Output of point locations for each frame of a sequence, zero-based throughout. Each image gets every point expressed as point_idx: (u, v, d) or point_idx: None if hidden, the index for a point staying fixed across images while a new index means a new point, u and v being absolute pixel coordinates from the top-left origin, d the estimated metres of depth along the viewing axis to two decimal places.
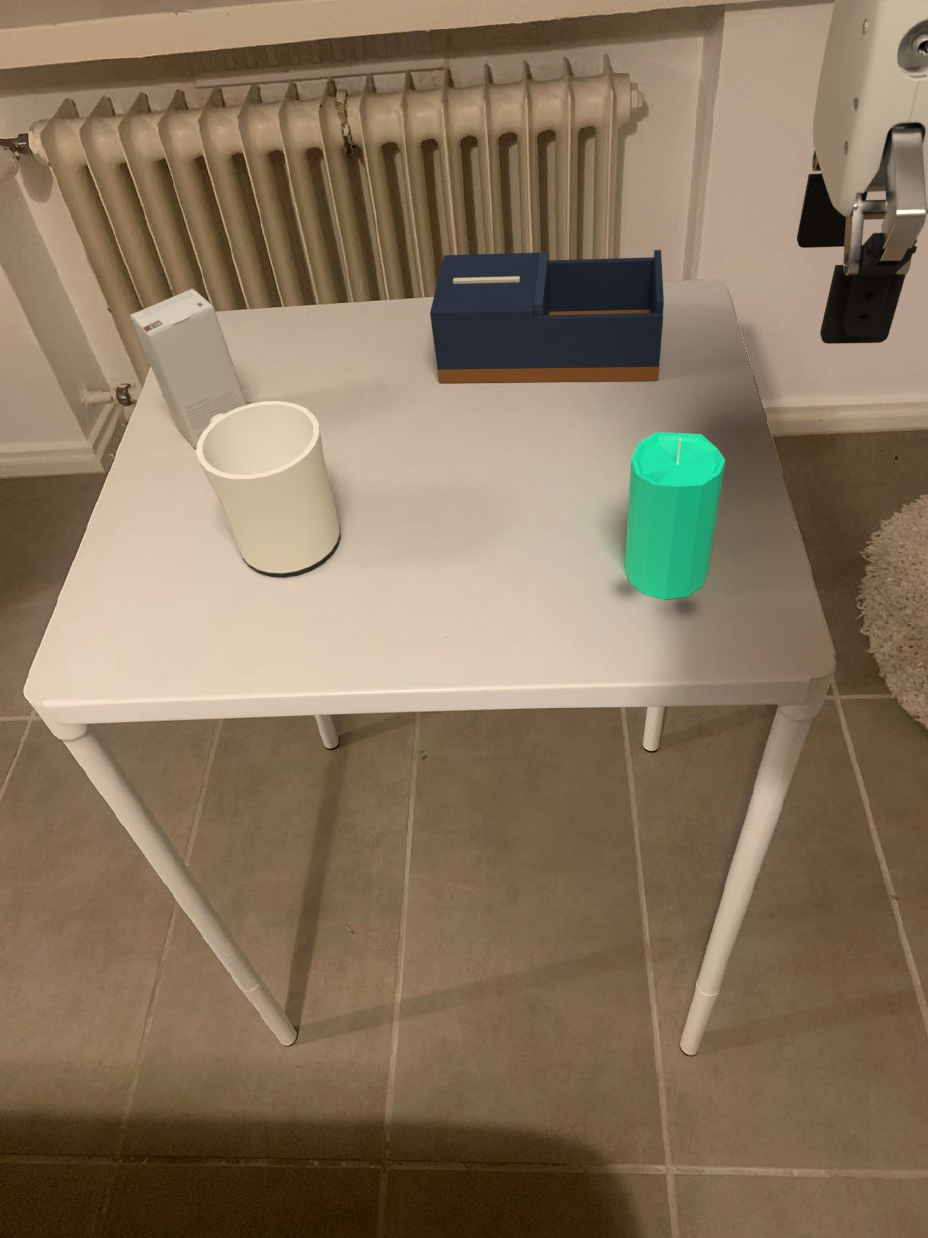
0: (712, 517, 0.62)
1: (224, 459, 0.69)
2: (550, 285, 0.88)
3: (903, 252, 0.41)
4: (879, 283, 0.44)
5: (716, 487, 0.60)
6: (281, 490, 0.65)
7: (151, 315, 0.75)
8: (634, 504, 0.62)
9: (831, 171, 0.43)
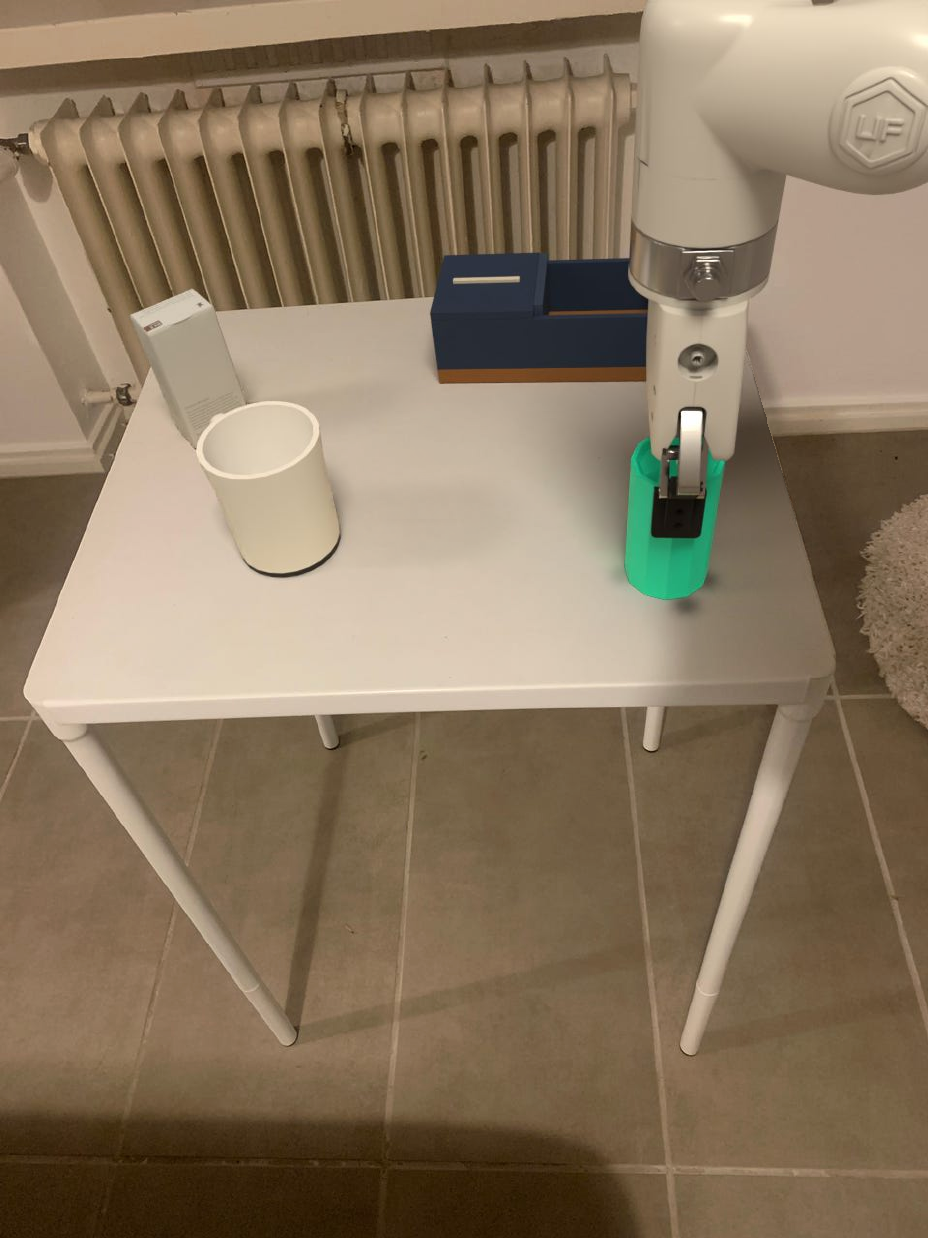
0: (712, 517, 0.62)
1: (224, 459, 0.69)
2: (550, 285, 0.88)
3: (691, 496, 0.54)
4: (685, 503, 0.57)
5: (716, 487, 0.60)
6: (281, 490, 0.65)
7: (151, 315, 0.75)
8: (634, 504, 0.62)
9: (649, 423, 0.55)
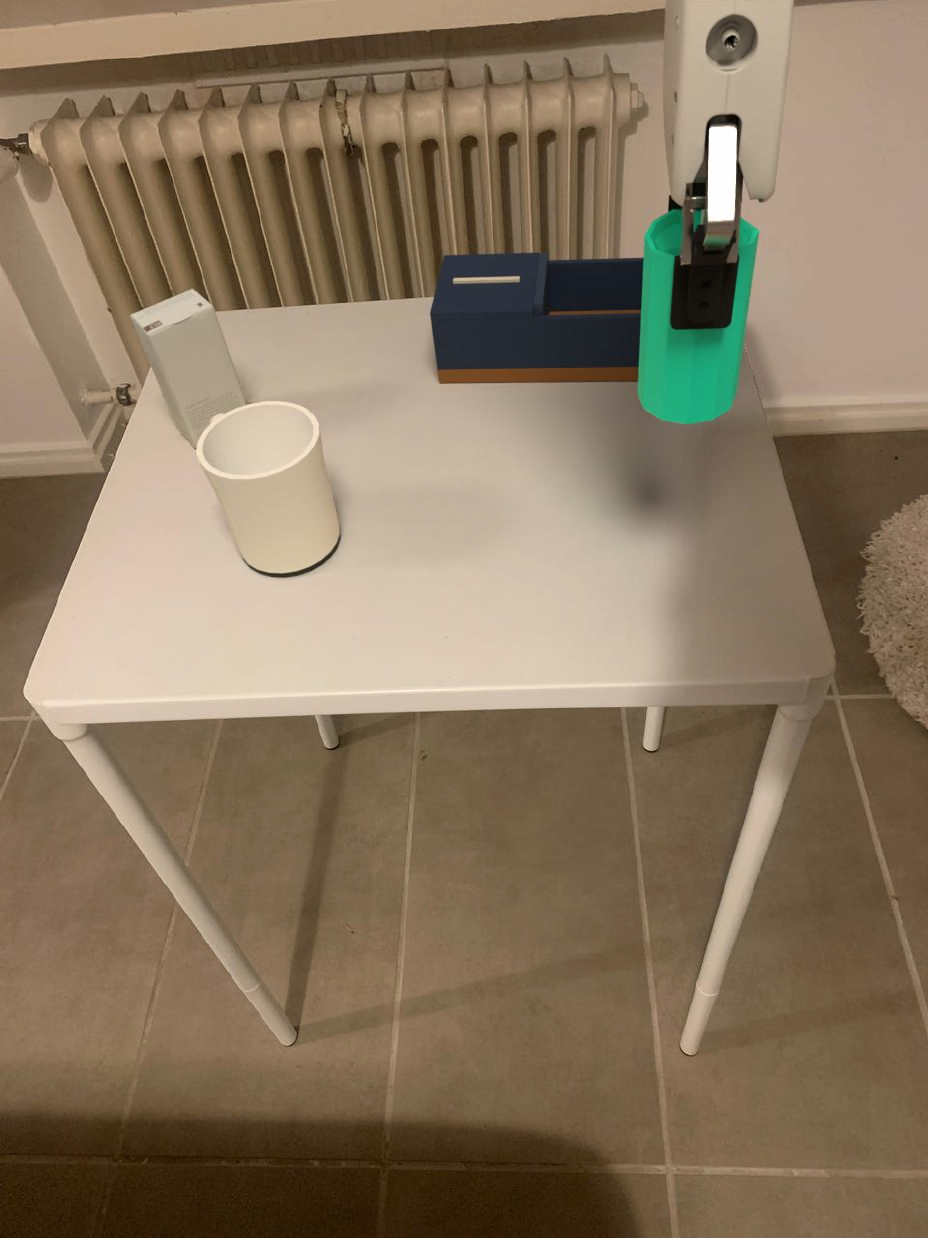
0: (743, 308, 0.51)
1: (224, 459, 0.69)
2: (550, 285, 0.88)
3: (722, 246, 0.44)
4: (712, 271, 0.47)
5: (749, 263, 0.49)
6: (281, 490, 0.65)
7: (151, 315, 0.75)
8: (649, 295, 0.52)
9: (667, 163, 0.45)
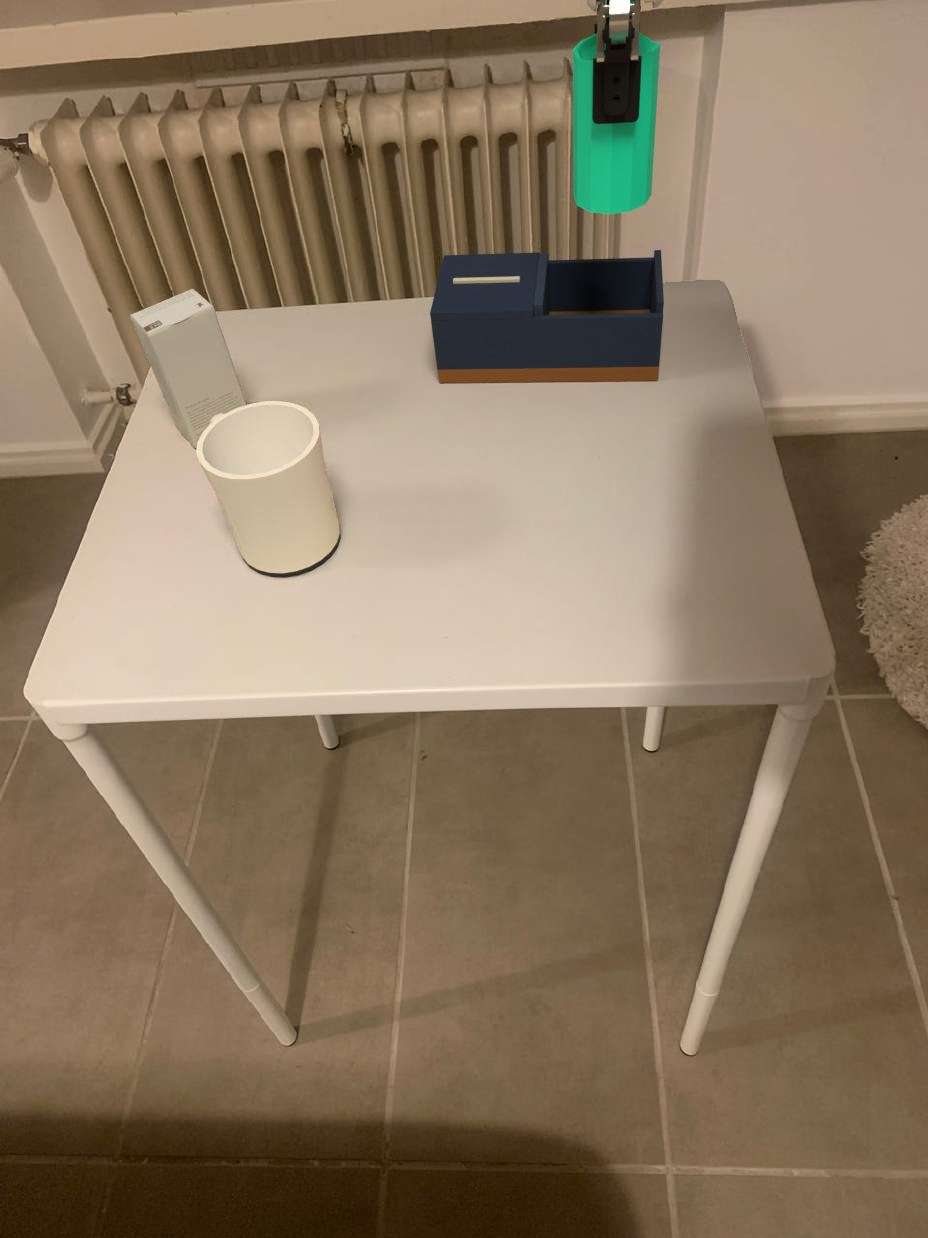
0: (650, 110, 0.66)
1: (224, 459, 0.69)
2: (550, 285, 0.88)
3: (624, 39, 0.58)
4: (621, 68, 0.61)
5: (651, 68, 0.64)
6: (281, 490, 0.65)
7: (151, 315, 0.75)
8: (577, 99, 0.66)
9: None
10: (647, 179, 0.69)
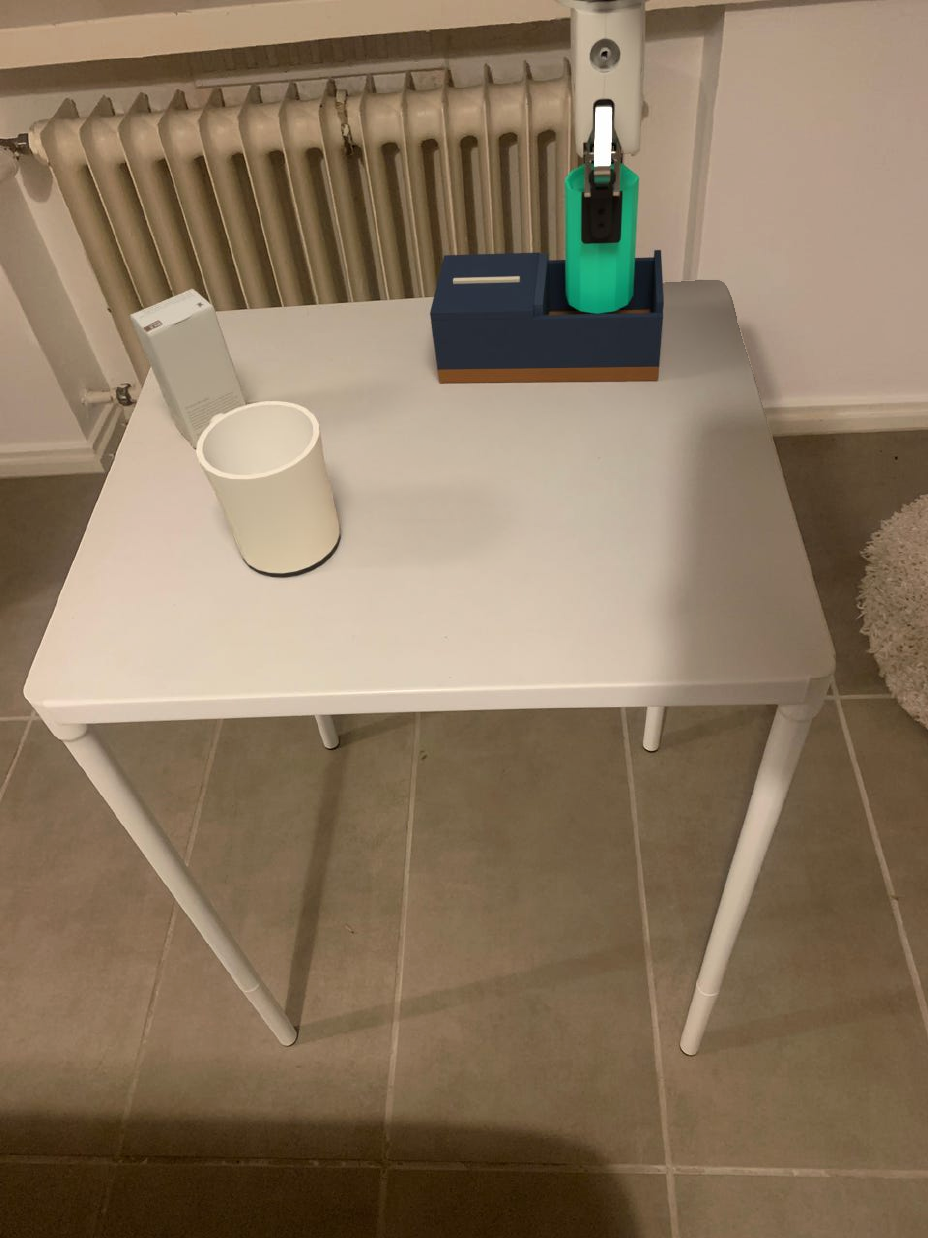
0: (630, 230, 0.77)
1: (224, 459, 0.69)
2: (550, 285, 0.88)
3: (606, 183, 0.69)
4: (605, 202, 0.72)
5: (631, 198, 0.75)
6: (281, 490, 0.65)
7: (151, 315, 0.75)
8: (568, 220, 0.77)
9: None
10: (629, 284, 0.80)
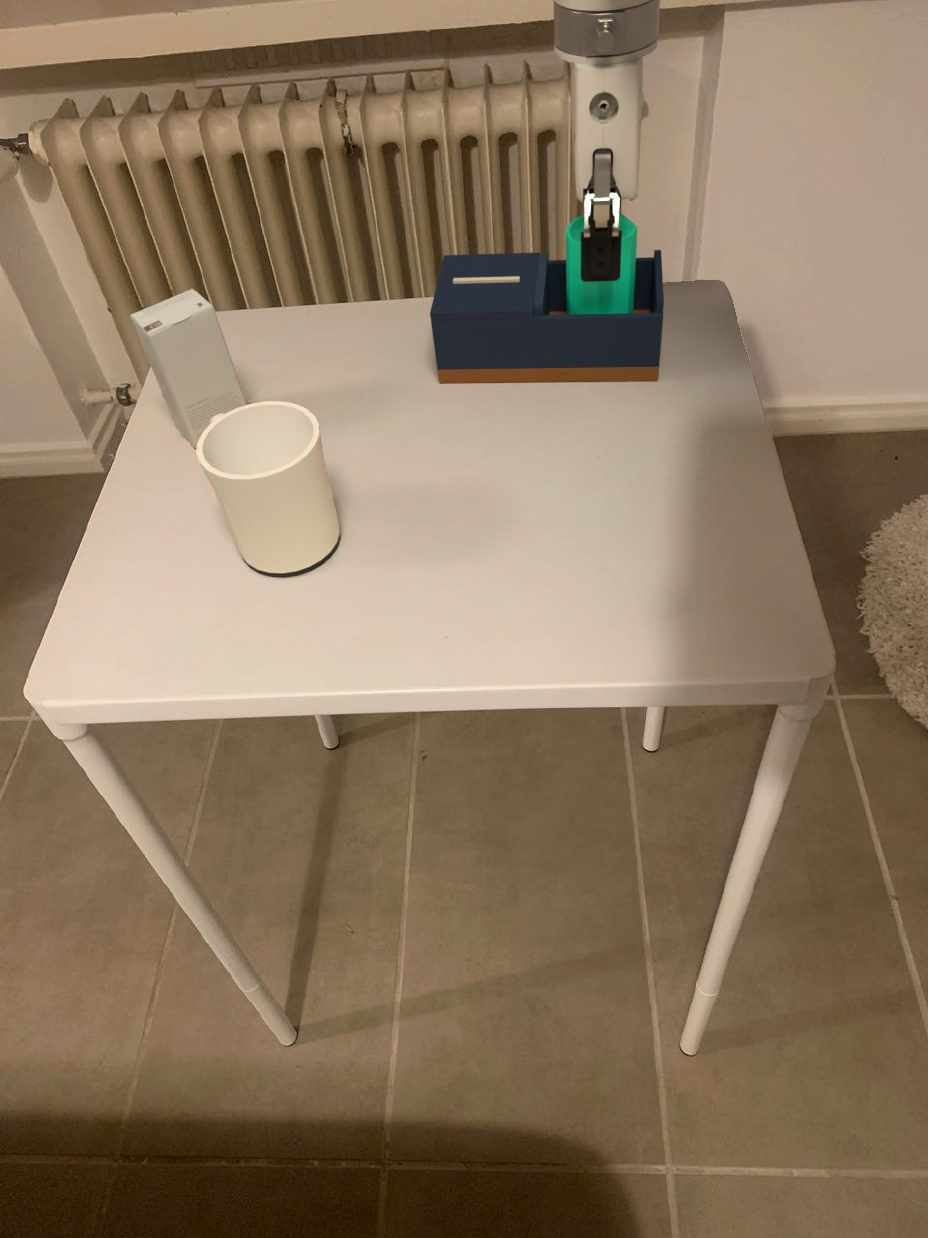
0: (629, 277, 0.80)
1: (224, 459, 0.69)
2: (550, 285, 0.88)
3: (606, 222, 0.70)
4: (604, 242, 0.73)
5: (630, 248, 0.78)
6: (281, 490, 0.65)
7: (151, 315, 0.75)
8: (569, 268, 0.80)
9: None
10: None
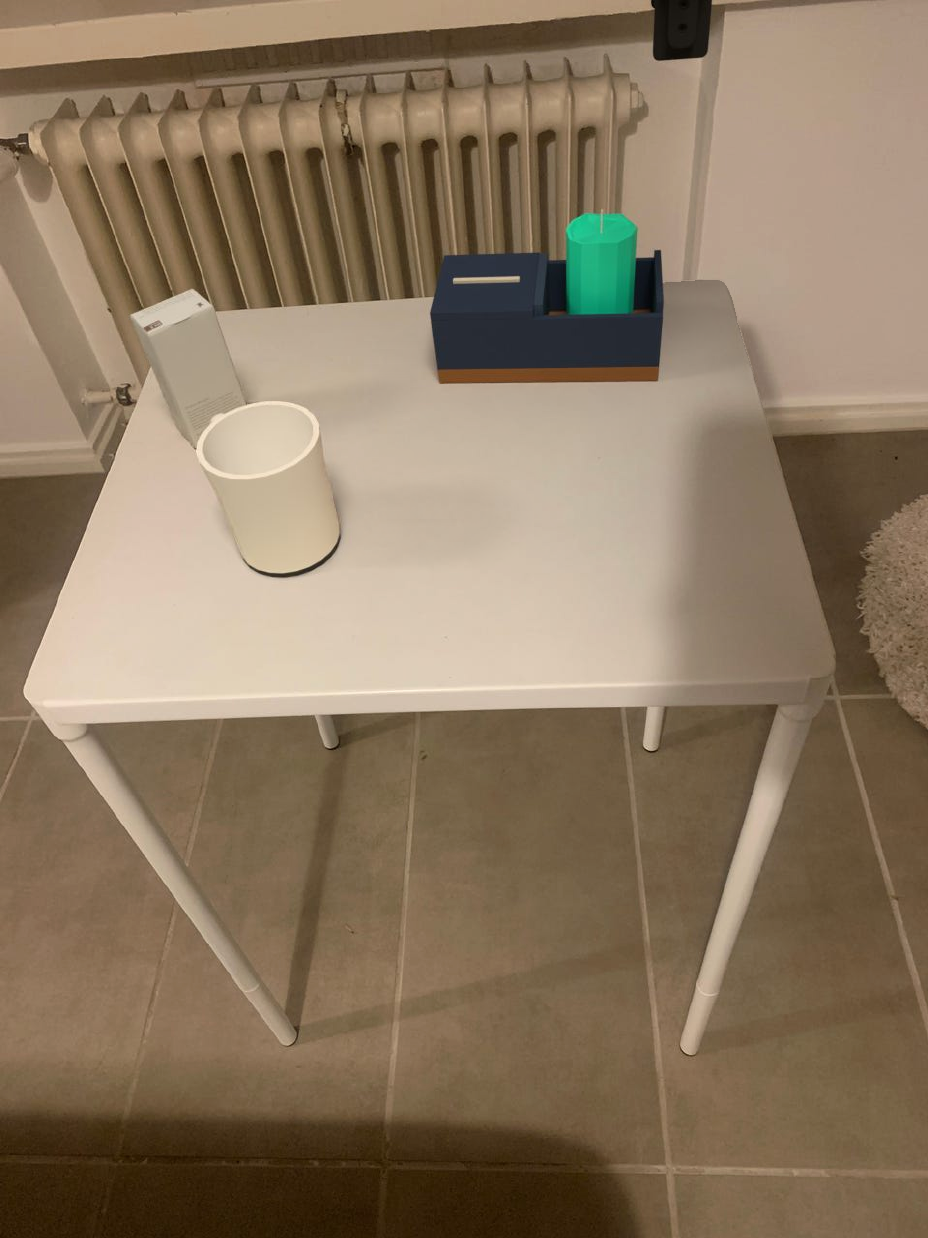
0: (629, 277, 0.80)
1: (224, 459, 0.69)
2: (550, 285, 0.88)
3: None
4: None
5: (630, 248, 0.78)
6: (281, 490, 0.65)
7: (151, 315, 0.75)
8: (569, 268, 0.80)
9: None
10: None
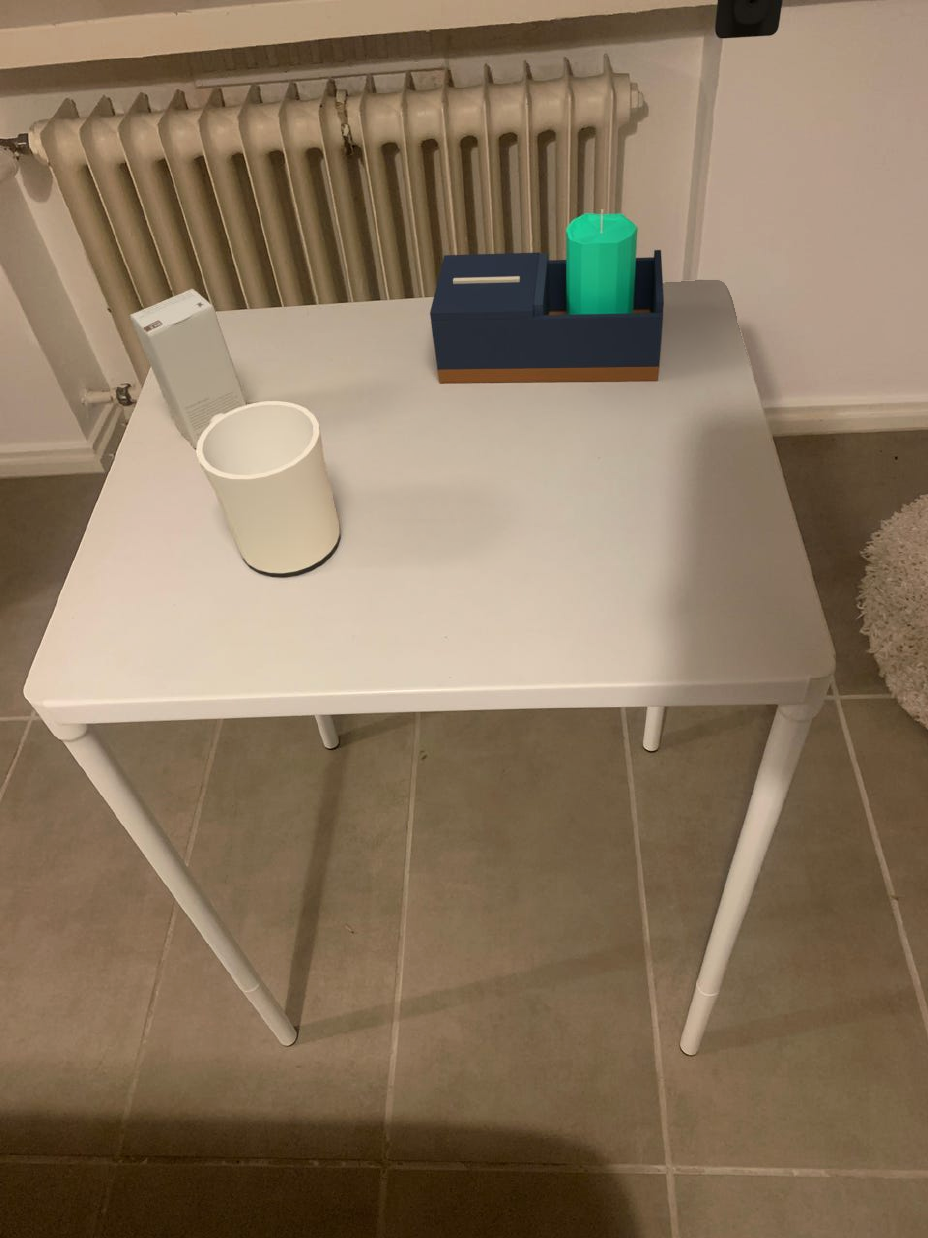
0: (629, 277, 0.80)
1: (224, 459, 0.69)
2: (550, 285, 0.88)
3: None
4: None
5: (630, 248, 0.78)
6: (281, 490, 0.65)
7: (151, 315, 0.75)
8: (569, 268, 0.80)
9: None
10: None
